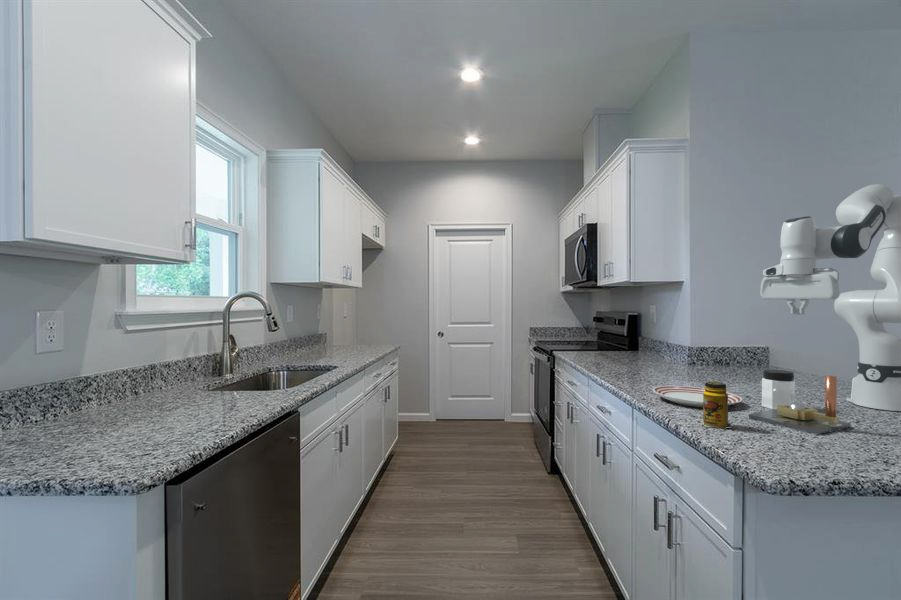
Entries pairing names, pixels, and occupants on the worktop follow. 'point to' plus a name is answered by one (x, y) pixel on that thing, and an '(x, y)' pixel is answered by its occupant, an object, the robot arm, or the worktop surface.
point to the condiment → (715, 405)
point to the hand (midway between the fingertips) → (797, 314)
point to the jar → (777, 388)
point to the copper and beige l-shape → (813, 413)
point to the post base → (799, 421)
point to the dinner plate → (689, 395)
